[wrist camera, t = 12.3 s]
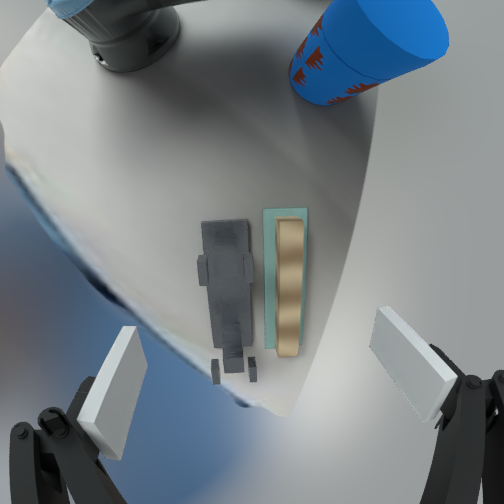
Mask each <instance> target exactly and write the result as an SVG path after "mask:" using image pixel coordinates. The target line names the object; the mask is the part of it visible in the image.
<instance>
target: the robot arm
mask: <svg viewBox="0 0 504 504" xmlns="http://www.w3.org/2000/svg"><path fill="white" fill-rule="evenodd" d="M199 1H207V0H45V2H46V4H47V5H48V7H49V8H50V9H51V10H52V11H53V12H54V13H55V15H56V16H57V17H58V18H60V19H62V20H64V21H65V22H66V23H68V24H69V25H70V26H72V27H73V28H74V29H76V30H77V31H78V32H79V33H81V34H82V35H83V36H85V37H86V38H87V39H88V40H89V43H90V47H91V50H92V53H93V56H94V57H95V59H96V60H97V61H98V62H99V63H100V64H101V65H103V66H104V67H105V68H107V69H109V70H111V71H115V72H130V71H135V70H138V69H141V68H144V67H146V66H148V65H150V64H152V63H154V62H155V61H157V60H158V59H159V58H161V57H162V56H163V55H164V54H165V53H166V52H167V51H168V50H169V49H170V48H171V46H172V45H173V44H174V42H175V40H176V38H177V36H178V33H179V26H180V24H179V19H178V16H177V13H176V10H175V9H174V7H173V6H176V5H181V4H187V3H193V2H199ZM369 347H370V348H371V350H372V351H373V352H374V354H375V355H376V356H377V358H378V359H379V361H380V362H381V363H382V365H383V366H384V368H385V369H386V370H387V372H388V373H389V375H390V376H391V377H392V379H393V380H394V382H395V383H396V385H397V386H398V387H399V389H400V390H401V392H402V393H403V395H404V396H405V398H406V399H407V400H408V402H409V403H410V405H411V406H412V408H413V409H414V411H415V412H416V414H417V415H418V417H419V418H420V419H421V421H422V423H425V422H427V421H429V420H431V419H434V418H435V417H436V415H437V414H438V412H439V410H441V411H442V413H443V415H442V416H441V418H440V419H439V421H438V423H437V424H436V426H435V429H436V428H437V427H438V425H439V424H440V425H439V432H438V437H437V442H436V447H435V452H434V456H433V460H432V464H431V468H430V472H429V476H428V479H427V483H426V486H425V489H424V492H423V495H422V499H421V501H420V504H477V501H478V496H479V490H480V484H481V478H482V488H483V504H504V370H497V371H496V372H495V373H494V375H493V377H492V378H491V379H488V380H481V379H480V378H479V377H477V376H474V375H467V376H466V375H465V374H464V373H463V372H462V371H461V370H460V369H459V368H458V367H457V366H456V365H455V364H454V363H453V362H452V361H451V360H449V358H448V357H447V356H446V355H445V354H444V353H443V352H442V351H441V350H440V349H439V348H438V347H436V346H434V345H432V344H430V345H428V344H427V343H426V342H425V341H424V340H423V339H422V338H421V337H420V336H419V335H418V334H417V333H416V332H415V331H414V330H413V329H412V328H411V327H410V326H409V325H408V324H407V323H406V322H405V321H404V320H402V318H400V316H398V315H397V314H396V313H395V312H394V311H393V310H392V309H391V308H390V307H389V306H385V307H378V308H377V313H376V318H375V323H374V328H373V333H372V337H371V342H370V346H369ZM147 367H148V365H147V362H146V359H145V355H144V352H143V349H142V345H141V342H140V338H139V335H138V331H137V327H136V326H123V328H122V330H121V331H120V333H119V335H118V337H117V339H116V341H115V342H114V345H113V346H112V348H111V350H110V352H109V354H108V356H107V358H106V359H105V361H104V364H103V365H102V367H101V369H100V371H99V373H98V375H97V377H91V376H89V377H88V378H86V380H84V381H83V382H82V383H81V385H80V387H79V389H78V392H77V393H76V395H75V398H74V399H73V401H72V403H71V405H70V407H69V409H68V411H67V413H66V415H65V414H64V412H63V411H62V410H61V409H59V408H56V407H50V408H47V409H45V410H43V411H42V412H41V413H40V415H39V417H38V424H39V426H40V427H41V429H42V430H34V429H33V427H32V426H31V425H30V424H29V423H27V422H20V423H17V424H16V425H14V427H13V428H12V430H11V434H10V454H9V455H10V456H9V457H10V458H9V459H10V460H9V467H10V468H9V469H10V492H11V501H12V502H11V503H12V504H70V501H69V496H68V491H67V487H68V489H69V491H70V493H71V495H72V497H73V499H74V501H75V503H76V504H127V503H126V501H125V500H124V498H123V497H122V495H121V494H120V493H119V491H118V489H117V488H116V486H115V485H114V483H113V482H112V480H111V478H110V477H109V475H108V474H107V472H106V470H105V468H104V467H103V465H102V464H101V462H100V460H99V459H98V455H99V451H100V452H101V454H102V455H103V456H104V457H105V458H109V459H114V460H119V461H121V458H122V453H123V450H124V446H125V442H126V438H127V434H128V431H129V427H130V423H131V419H132V416H133V413H134V409H135V406H136V402H137V399H138V396H139V392H140V389H141V386H142V383H143V379H144V376H145V373H146V370H147ZM496 409H498V414H497V415H496V412H495V410H496ZM66 485H67V486H66Z"/></svg>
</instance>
